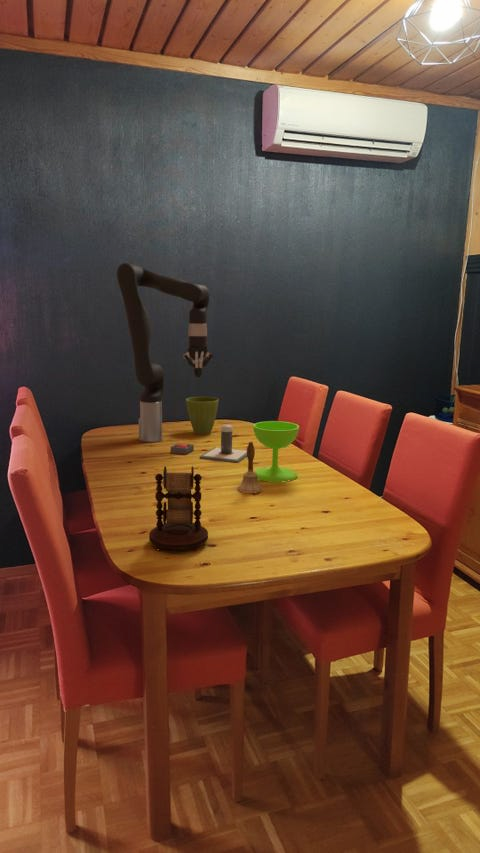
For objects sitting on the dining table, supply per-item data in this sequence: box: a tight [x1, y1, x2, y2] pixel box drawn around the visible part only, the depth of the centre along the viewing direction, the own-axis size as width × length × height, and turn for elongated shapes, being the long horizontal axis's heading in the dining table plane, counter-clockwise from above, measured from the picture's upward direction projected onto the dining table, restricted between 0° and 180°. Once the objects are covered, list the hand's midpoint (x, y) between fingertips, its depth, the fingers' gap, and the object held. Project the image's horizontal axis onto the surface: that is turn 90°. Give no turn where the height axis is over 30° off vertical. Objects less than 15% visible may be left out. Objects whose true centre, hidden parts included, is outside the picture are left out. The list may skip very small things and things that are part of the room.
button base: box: [170, 442, 195, 456], centre depth 234 cm, size 7×7×2 cm
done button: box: [176, 442, 189, 448], centre depth 234 cm, size 4×4×2 cm
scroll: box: [148, 465, 209, 551], centre depth 145 cm, size 15×15×20 cm
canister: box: [220, 424, 234, 454], centre depth 229 cm, size 4×4×11 cm
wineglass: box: [252, 420, 300, 483], centre depth 203 cm, size 16×16×18 cm
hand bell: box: [236, 441, 263, 494], centre depth 187 cm, size 8×8×16 cm
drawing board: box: [199, 446, 247, 464], centre depth 230 cm, size 16×16×1 cm
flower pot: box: [185, 396, 219, 436], centre depth 266 cm, size 15×15×16 cm
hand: (197, 376), depth 240 cm, fingers closed
